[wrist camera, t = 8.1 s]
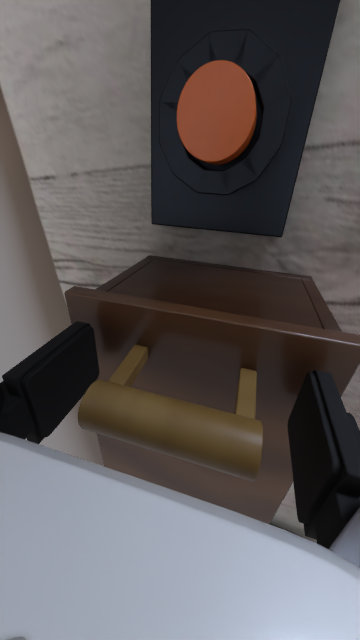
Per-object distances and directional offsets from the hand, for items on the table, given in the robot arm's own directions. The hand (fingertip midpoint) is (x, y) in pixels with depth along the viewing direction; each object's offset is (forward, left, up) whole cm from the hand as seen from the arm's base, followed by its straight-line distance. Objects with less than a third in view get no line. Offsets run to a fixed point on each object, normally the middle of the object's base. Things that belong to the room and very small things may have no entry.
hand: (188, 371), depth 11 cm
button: (-10, -1, -8) cm, 13 cm away
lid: (+5, 0, -2) cm, 6 cm away
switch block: (-10, -1, -11) cm, 15 cm away
